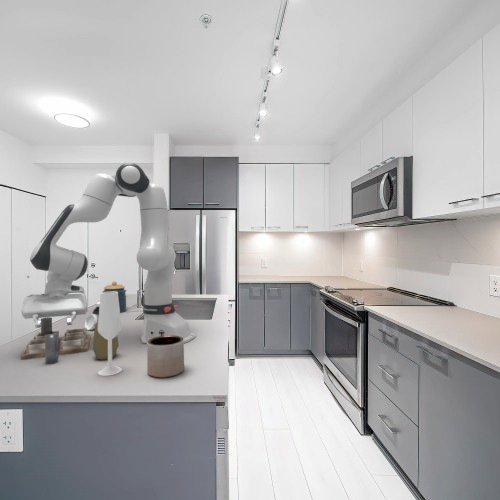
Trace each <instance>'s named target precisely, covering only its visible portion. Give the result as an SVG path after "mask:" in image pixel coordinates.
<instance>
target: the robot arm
mask: <svg viewBox="0 0 500 500" xmlns="http://www.w3.org/2000/svg"><path fill="white" fill-rule="evenodd" d="M150 181H151V180H150V179H149V177H148V176H147V174H146V173H145V171H144V170H143V168H141V167H140V165H138V164H137V163H135V162H125V163H123V164H121V165H120V166H119V167H117V170H116V171H115V175H114V174H113V175H110V174H108V173H104V172H103V173H101V172H99V173H96V174H94V175H93V177H92V178H91V179H90V181H89V183H88V184H87V186H86V188H85V189H84V191H83V194H82V195H81V197H80V199H79V200H78V201H77V202H76V203H73V204H68V205H67V206H66V207H65V208H64V209H63V210H62V211H61V213H60V214H59V215H58V217H57V218H56V220H55V221H54V222H53V223H52V225H51V227H50V228H49V229H48V230H47V231H46V233H45V235H44V236H43V238H42V239H41V240H40V242H38V244H37V245H36V246H35V247H34V249H33V250H32V252H31V253H30V256H29V257H30V258H29V261H30V263H31V265H32V266H33V267H34V268H35V270H38V271H39V270H40V271H44V272H47V275H46V280H47V282H46V284H45V286H44V287H45V288H44V293H38V294H37V293H36V294H34V293H33V294H29V295H27V296H25V297H24V298H23V305H22V309H21V316H22V317H23V318H24V319H26V320H27V319H28V320H30V319H32V320H33V322H34V326H35V328H36V329H37V328H40V329H41V320H39V318H40V319H42V318H47V317H51V318H53V317H55V318H56V317H68V316H71V317H70V318H66V319H67V320H66V321H67V322H66V325H67V326H72V325H73V322H74V321H75V319H76V318H77V316H81V315H86V314H87V313H88V301H87V300H88V299H87V296H86V293H85V289H84V287H83V286H81V285H75V284H73V282H74V281H78V280H79V279H80V278H82V277H83V276H85V274H86V273H87V271H88V266H89V265H88V264H89V261H88V258H87V256H86V254H84V253H82V252H78V251H75V250H73V249H68V248H65V247H62V246H59V245H57V243H58V241H59V240H60V238H61V237H62V235H63V234H64V232H65V231H66V229H67V228H68V227H69V226H70V225H72V224H75V223H92V224H93V223H98V222H101V221H104V220H105V219H106V218H107V217H108V215H109V214H110V212H111V210H112V207H113V206H114V203H115V200H116V198H117V197H119V196H120V197H126V198H127V197H128V198H132V197H133V198H134V197H136V198H137V199H138V201H139V202H138V203H139V212H140V214H139V215H140V226H141V228H140V229H141V231H140V241H139V248H138V251H137V253H136V261H137V264H138V266H139V267H140V268H141V269H144V270H145V271H147V274H146V279H145V282H144V285H143V292H144V293H143V295H144V296H143V297H144V298H143V300H144V301H143V302H144V303H143V304H142V313H143V324H142V330H141V335H140V340H141V343H142V344H147V341H148V340H150V339H152V338H154V337H158V336H166V335H175V336H180V337H182V338H183V339H184V344H185V343H188V342H191V341H192V340H194V339H195V337H196V334H195V333H193V332H191V331H190V325H189V322H188V321H187V320H186V319H184V318H183V317H182V316H181V315H180V314H179V313H178V312H176V309H177V308H178V304H176V305H174V303H173V301H172V300H173V299H172V298H173V294H172V293H173V292H172V290H173V288H172V286H173V277H174V270H175V261H176V258H177V255H176V251H175V250H174V248H172V247H173V246H172V247H171V246H170V245H169V244H168V234H169V231H170V220H169V210H168V201H167V197H166V193H165V192H166V191H165V189H164V187H163V186H162V185H160V184H158V183H151V182H150Z"/></svg>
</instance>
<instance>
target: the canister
mask: <svg viewBox="0 0 500 500" xmlns="http://www.w3.org/2000/svg"><path fill="white" fill-rule="evenodd" d="M117 283H118V282H117V281H112V282H111V284H107V285H106V286H104V287H103V289H104V290H103V291H102V292H111V291H115V292H118V299H119V308H120V314H121V313H125V312H126V311H127V308H128V306H127V295H126V293H127V290H126V289H125V286H124V285H123V284H119V283H118V284H117Z"/></svg>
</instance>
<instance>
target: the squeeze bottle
mask: <svg viewBox="0 0 500 500" xmlns="http://www.w3.org/2000/svg"><path fill="white" fill-rule="evenodd" d="M98 318H99V316H98ZM93 330H94V331H93V342H92V351H93V353H94V355H95V358H96V359H97V360H108V340H107V339H105V338H104V337H102V336H101V335H100V334H99V332H98V322H97V323H96V324H95V328H94V329H93ZM118 348H119V339H118V334H117V335H116V337H115V338H113V339H112V358H114V357H115V356H116V353H117V350H118Z"/></svg>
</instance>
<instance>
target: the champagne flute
mask: <svg viewBox="0 0 500 500" xmlns="http://www.w3.org/2000/svg"><path fill="white" fill-rule="evenodd" d="M99 297H100V298H99V302H100V307H99V318H98V332H99V334H100V335H101V336H102V337H104V338H105V339H107V340H108V359H107V365H106V366H105V367H103V368H102V369H100V370H99V371H98V372H97V374H98V375H99V376H104V377H105V376H112V375H116V374H118V373H121V372H122V370H123V368H121V367H119V366H117V365H114V364H113V357H112V339H113V338H115V337H116V335H117V336H118V334H120V332H121V331H122V318H121V313H120V308H119V299H118V292H115V291H111V292H103V291H101V292H100V296H99Z"/></svg>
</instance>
